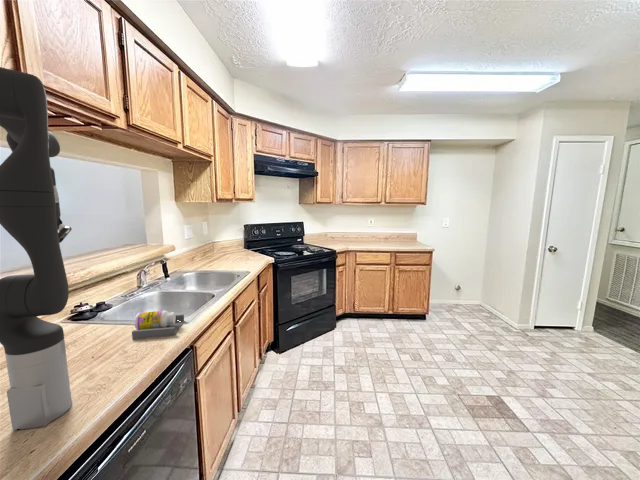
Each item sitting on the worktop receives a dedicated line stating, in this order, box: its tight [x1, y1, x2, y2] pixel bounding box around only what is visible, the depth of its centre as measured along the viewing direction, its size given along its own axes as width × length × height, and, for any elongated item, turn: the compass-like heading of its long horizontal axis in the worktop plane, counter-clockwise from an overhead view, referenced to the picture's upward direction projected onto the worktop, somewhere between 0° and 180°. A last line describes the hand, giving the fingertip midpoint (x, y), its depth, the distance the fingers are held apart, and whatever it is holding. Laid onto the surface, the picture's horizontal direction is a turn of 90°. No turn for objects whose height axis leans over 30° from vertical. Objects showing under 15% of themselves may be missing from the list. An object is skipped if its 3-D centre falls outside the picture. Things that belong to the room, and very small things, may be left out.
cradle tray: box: [131, 313, 185, 340], centre depth 105 cm, size 13×14×3 cm
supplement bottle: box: [134, 310, 177, 330], centre depth 105 cm, size 7×7×13 cm
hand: (48, 257), depth 83 cm, fingers closed
